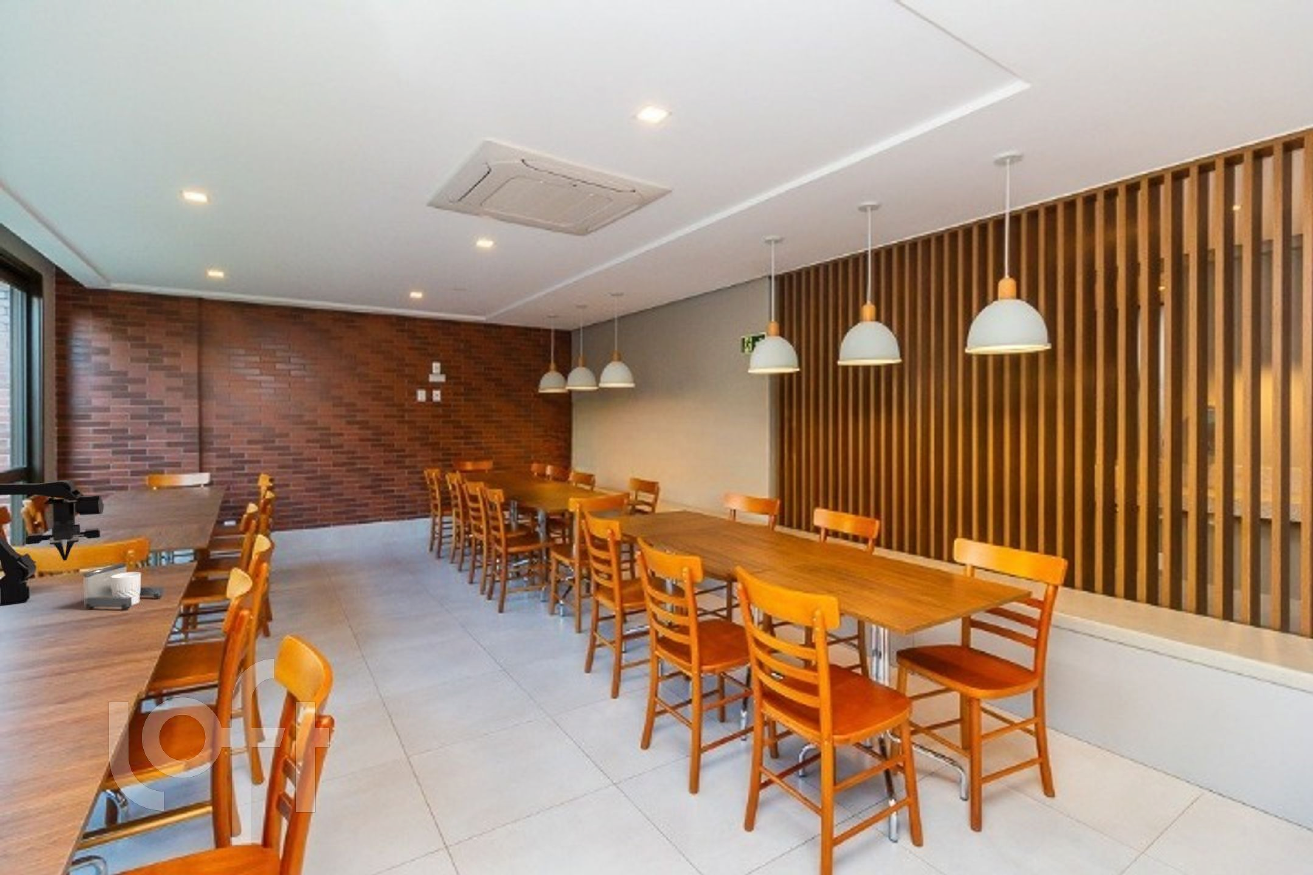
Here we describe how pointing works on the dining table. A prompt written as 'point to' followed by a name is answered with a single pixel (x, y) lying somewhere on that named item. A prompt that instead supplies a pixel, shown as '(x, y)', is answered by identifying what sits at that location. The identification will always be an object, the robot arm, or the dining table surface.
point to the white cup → (127, 586)
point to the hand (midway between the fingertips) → (65, 560)
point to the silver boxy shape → (101, 592)
